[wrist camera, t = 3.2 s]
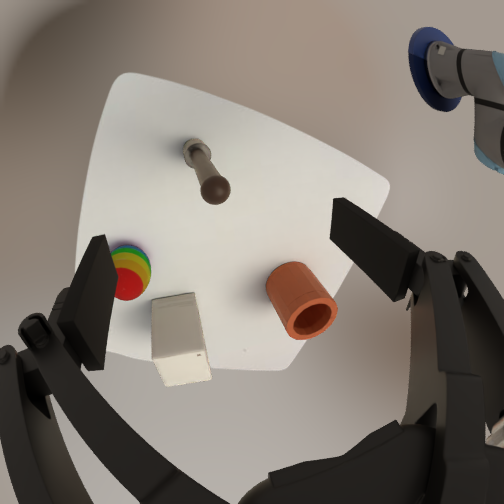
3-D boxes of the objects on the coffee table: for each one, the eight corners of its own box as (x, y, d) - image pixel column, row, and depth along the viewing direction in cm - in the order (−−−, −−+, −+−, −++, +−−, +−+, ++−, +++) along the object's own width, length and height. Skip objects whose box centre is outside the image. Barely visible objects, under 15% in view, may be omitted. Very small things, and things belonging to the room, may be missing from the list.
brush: (205, 137, 39) (239, 168, 20) (207, 159, 41) (242, 212, 22) (181, 140, 38) (191, 174, 19) (184, 162, 40) (197, 219, 21)
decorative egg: (157, 246, 46) (156, 279, 38) (144, 283, 49) (142, 319, 40) (114, 232, 42) (102, 263, 34) (104, 271, 45) (94, 306, 37)
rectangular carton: (150, 298, 51) (150, 358, 38) (194, 291, 53) (205, 349, 40) (161, 330, 55) (164, 388, 43) (201, 324, 57) (213, 380, 45)
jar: (312, 257, 56) (341, 292, 47) (308, 295, 62) (332, 331, 52) (265, 266, 54) (288, 305, 44) (266, 305, 60) (285, 345, 50)
